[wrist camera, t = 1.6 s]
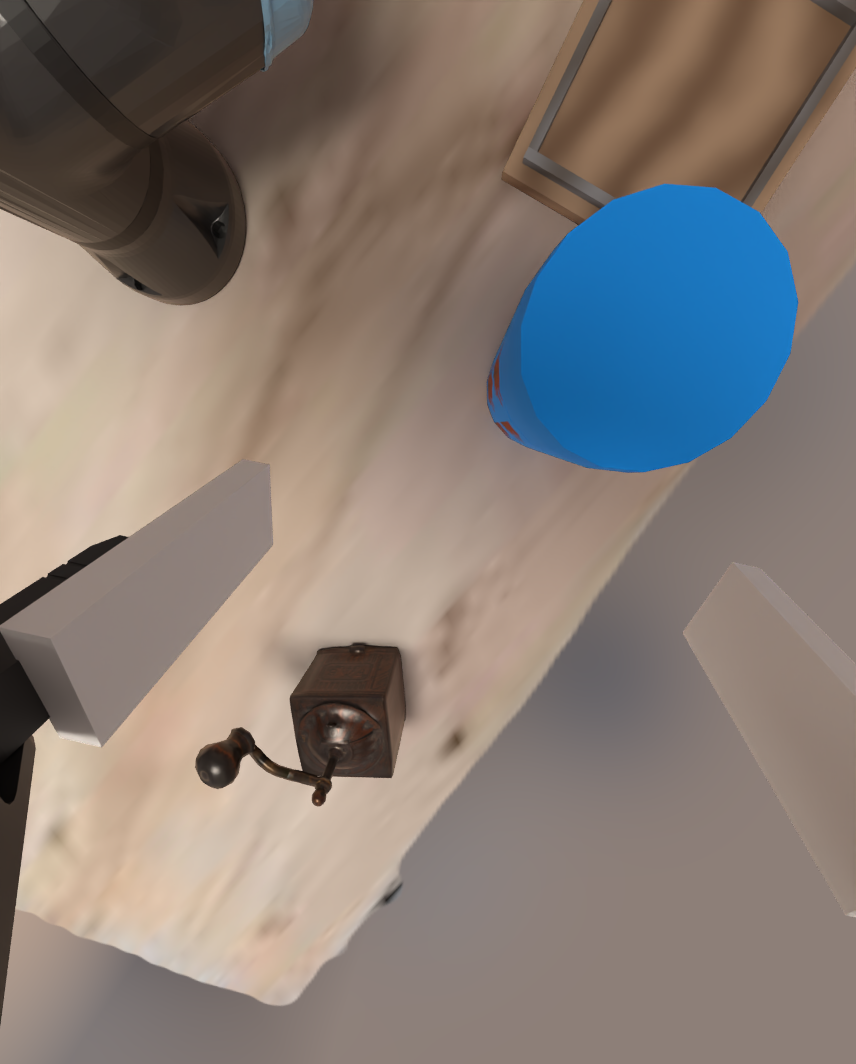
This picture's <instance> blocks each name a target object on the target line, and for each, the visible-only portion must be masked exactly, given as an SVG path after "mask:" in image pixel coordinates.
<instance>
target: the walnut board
mask: <svg viewBox="0 0 856 1064" xmlns="http://www.w3.org/2000/svg"><path fill="white" fill-rule="evenodd" d="M855 68H856V0H584V1H583V3H582V5H581V7H580V9H579V11H578V13H577V16H576V18H575V20H574V22H573V24H572V26H571V28H570V30H569V32H568V35H567V37H566V39H565V41H564V43H563V45H562V47H561V49H560V51H559V54H558V56H557V58H556V60H555V62H554V64H553V66H552V68H551V70H550V73H549V75H548V77H547V79H546V81H545V83H544V85H543V87H542V89H541V92H540V94H539V96H538V98H537V100H536V102H535V104H534V106H533V108H532V111H531V113H530V115H529V117H528V119H527V121H526V123H525V125H524V127H523V130H522V132H521V134H520V136H519V138H518V140H517V142H516V144H515V147H514V149H513V151H512V153H511V155H510V157H509V159H508V161H507V163H506V166H505V168H504V170H503V173H502V180H503V181H505V182H507V183H508V184H510V185H512V186H514V187H515V188H517V189H519V190H520V191H522V192H524V193H526V194H527V195H529V196H531V197H532V198H534V199H536V200H537V201H539V202H541V203H543V204H544V205H546V206H548V207H549V208H551V209H553V210H555V211H556V212H558V213H560V214H561V215H563V216H565V217H567V218H568V219H570V220H572V221H573V222H575V223H577V224H578V225H580V224H581V223H583V222H584V221H585V220H587V219H588V218H589V217H591V216H592V215H593V214H595V213H596V212H597V211H599V210H600V209H601V208H603V207H604V206H605V205H607V204H608V203H609V202H611V201H612V200H614V199H617V198H620V197H624V196H627V195H630V194H633V193H636V192H639V191H643V190H646V189H649V188H652V187H655V186H658V185H662V184H675V185H688V186H701V187H713V188H717V189H719V190H721V191H723V192H724V193H726V194H728V195H730V196H732V197H733V198H735V199H737V200H739V201H741V202H742V203H744V204H746V205H748V206H750V207H751V208H753V209H755V210H757V211H759V212H760V214H761V212H762V211H763V209H764V208H765V206H766V205H767V203H768V202H769V200H770V199H771V197H772V195H773V194H774V192H775V191H776V189H777V188H778V186H779V185H780V183H781V182H782V180H783V179H784V177H785V175H786V174H787V172H788V171H789V169H790V168H791V166H792V165H793V163H794V162H795V160H796V159H797V157H798V156H799V154H800V152H801V151H802V149H803V148H804V146H805V145H806V143H807V142H808V140H809V139H810V137H811V136H812V134H813V132H814V131H815V129H816V128H817V126H818V125H819V123H820V122H821V120H822V119H823V117H824V116H825V114H826V112H827V111H828V109H829V108H830V106H831V105H832V103H833V102H834V100H835V99H836V97H837V96H838V94H839V93H840V91H841V89H842V88H843V86H844V85H845V83H846V82H847V80H848V79H849V77H850V76H851V74H852V73H853V71H854V69H855Z"/></svg>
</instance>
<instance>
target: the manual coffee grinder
mask: <svg viewBox="0 0 856 1064" xmlns="http://www.w3.org/2000/svg"><path fill="white" fill-rule="evenodd" d="M290 706H291V713H292V718H293V724H294V731H295V738H296V743H297V748H298V753H299V758H300V762H301V766H302V770H303V771H299V770H294V769H290V768H287V767H284V766H280V765H278V764H276V763H275V762H273V761H271V760H270V759H269V758H268V757H267V756H266V755H265V754H264V753H263V752H262V751H261V750H260V749H259V748H258V747H257V746H256V745H255V741H254V739H253V737H252V735H251V734H250V732H248V731H247V730H245V729H244V728H242V727H240V728H235V729H232V731H231V734H230V735H229V737H228V738H227V740H224V741H221V742H218V743H213V744H209V745H206V746H205V747H204V748H202V749H201V750H200V752H199V754H198V756H197V758H196V766H195V768H196V770H197V772H198V775H199V777H200V779H201V780H202V781H203V783H205V784H206V785H208V786H210V787H212V788H216V789H219V788H223V787H225V786H227V785H229V784H231V783H232V782H233V781H234V780H235V778H236V777H237V775H238V773H239V768H240V762H241V759H242V758H243V757H245V756H246V755H248V754H250V756H251V757H252V758H253V759H254V760H255V762H256V763H257V764H258V765H259V766H260V767H261V768H263V769H264V770H265V771H266V772H268V773H270V774H272V775H274V776H277V777H280V778H283V779H286V780H290V781H294V782H298V783H302V784H306V785H310V786H313V787H315V789H316V790H315V792H314V793H313V794H312V803H313V804H314V805H315V806H321V805H323V804H324V802H325V800H326V794H327V793H328V792H329V791H330V790H331V788H332V782H331V778H332V776H337V777H374V778H392V776H393V773H394V768H395V764H396V759H397V755H398V750H399V746H400V741H401V736H402V731H403V726H404V721H405V695H404V684H403V673H402V663H401V655H400V653H399V650H398V648H394V647H374V646H364V645H355V646H350V647H337V648H329V649H324V650H319V651H317V655H316V657H315V658H314V660H313V662H312V663H311V665H310V666H309V668H308V670H307V671H306V673H305V674H304V676H303V677H302V679H301V680H300V682H299V684H298V685H297V687H296V688H295V690H294V691H293V693H292V694H291V696H290ZM318 776H319V777H318Z"/></svg>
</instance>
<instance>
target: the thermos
mask: <svg viewBox="0 0 856 1064" xmlns="http://www.w3.org/2000/svg"><path fill="white" fill-rule="evenodd" d="M797 307H798V298H797V293H796V289H795V284H794V279H793V275H792V270H791V265H790V260H789V256H788V252H787V250H786V249H785V247H784V246H783V245H782V243H781V242H780V240H779V239H778V238H777V236H776V235H775V233H774V232H773V231H772V229H771V228H770V226H769V225H768V224H767V222H766V221H765V219H764V218H763V217H762V215H761V214H760V212H759V211H757V210H755V209H753V208H751V207H750V206H748V205H746V204H744V203H742V202H741V201H739V200H737V199H735V198H733V197H732V196H730V195H728V194H726V193H724V192H723V191H721V190H719V189H717V188H713V187H701V186H688V185H675V184H662V185H658V186H655V187H652V188H649V189H646V190H643V191H639V192H636V193H633V194H630V195H627V196H624V197H620V198H617V199H614V200H612V201H611V202H609V203H608V204H607V205H605V206H604V207H603V208H601V209H600V210H599V211H597V212H596V213H595V214H593V215H592V216H591V217H589V218H588V219H587V220H585V221H584V222H583V223H581V224H580V225H579V226H577V227H576V228H575V229H573V230H572V231H571V232H569V233H568V234H567V235H566V236H565V237H564V239H563V240H562V241H561V242H560V243H559V244H558V245H557V246H556V247H555V249H554V250H553V251H552V253H551V254H550V256H549V257H548V258H547V260H546V261H545V263H544V264H543V265H542V267H541V268H540V270H539V271H538V273H537V274H536V275H535V277H534V278H533V280H532V281H531V282H530V284H529V285H528V287H527V288H526V289H525V292H524V294H523V296H522V298H521V301H520V303H519V305H518V307H517V309H516V312H515V314H514V316H513V318H512V321H511V323H510V325H509V327H508V329H507V332H506V334H505V336H504V338H503V341H502V343H501V345H500V347H499V349H498V352H497V354H496V356H495V358H494V361H493V364H492V367H491V370H490V374H489V377H488V380H487V405H488V407H489V410H490V413H491V415H492V418H493V420H494V422H495V423H496V425H497V426H498V427H499V428H500V429H501V430H502V431H503V432H504V434H505V435H506V436H507V437H508V438H510V439H512V440H514V441H516V442H518V443H520V444H521V445H523V446H525V447H528V448H531V449H534V450H537V451H540V452H542V453H545V454H548V455H551V456H554V457H557V458H560V459H563V460H566V461H569V462H572V463H574V464H577V465H580V466H583V467H586V468H593V469H601V470H610V471H618V472H627V473H630V472H647V471H651V470H656V469H661V468H665V467H670V466H674V465H679V464H683V463H688V462H690V461H692V460H694V459H695V458H697V457H699V456H701V455H702V454H704V453H706V452H708V451H709V450H711V449H713V448H714V447H716V446H718V445H720V444H722V443H723V442H725V441H727V440H729V439H730V438H732V436H733V435H734V434H735V433H736V432H737V431H738V430H739V429H740V428H741V427H742V426H743V425H744V424H745V423H746V422H747V421H748V420H749V419H750V418H751V416H752V415H753V414H754V413H755V412H756V411H757V410H758V409H759V408H760V407H761V406H762V405H763V404H764V403H765V402H766V401H767V399H768V397H769V395H770V393H771V391H772V389H773V387H774V385H775V383H776V381H777V379H778V377H779V375H780V373H781V371H782V369H783V367H784V365H785V363H786V361H787V359H788V357H789V355H790V352H791V346H792V339H793V333H794V326H795V320H796V313H797Z"/></svg>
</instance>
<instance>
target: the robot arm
mask: <svg viewBox="0 0 856 1064" xmlns="http://www.w3.org/2000/svg"><path fill="white" fill-rule="evenodd" d="M312 10H313V0H0V209H2V210H4V211H6V212H8V213H11V214H13V215H15V216H17V217H20V218H22V219H24V220H26V221H29V222H31V223H33V224H35V225H38V226H40V227H42V228H44V229H46V230H49V231H51V232H53V233H55V234H58V235H60V236H62V237H65V238H67V239H69V240H71V241H73V242H75V243H77V244H79V245H80V246H81V247H82V248H83V249H85V250H86V251H87V252H88V253H89V254H90V255H91V256H92V257H93V258H94V259H96V260H97V261H98V262H99V263H100V264H101V265H102V266H103V267H104V268H105V269H107V270H108V271H109V272H110V273H111V274H112V275H113V276H114V277H116V278H117V279H118V280H119V281H120V282H122V283H123V284H125V285H126V286H128V287H129V288H131V289H133V290H134V291H136V292H138V293H140V294H142V295H145V296H147V297H150V298H152V299H155V300H157V301H160V302H163V303H167V304H172V305H190V304H195V303H199V302H201V301H204V300H206V299H208V298H210V297H212V296H213V295H215V294H216V293H217V292H218V291H220V290H221V289H222V288H223V287H224V286H225V285H226V283H227V282H228V281H229V280H230V278H231V277H232V275H233V274H234V272H235V270H236V268H237V266H238V264H239V261H240V258H241V255H242V251H243V247H244V242H245V231H246V221H245V210H244V204H243V200H242V196H241V192H240V189H239V186H238V184H237V181H236V179H235V177H234V174H233V173H232V171H231V169H230V167H229V165H228V164H227V162H226V161H225V159H224V158H223V157H222V155H221V154H220V153H219V152H218V150H217V149H216V148H215V147H214V146H213V145H212V144H211V143H210V142H209V140H208V139H207V138H206V137H205V136H204V135H203V134H202V133H201V132H200V131H199V130H198V129H197V128H196V127H195V126H194V125H192V124H191V123H190V122H188V121H187V119H189V118H190V117H192V116H193V115H195V114H196V113H198V112H199V111H200V110H202V109H203V108H205V107H206V106H208V105H209V104H211V103H212V102H214V101H215V100H217V99H218V98H219V97H221V96H222V95H224V94H225V93H227V92H228V91H230V90H231V89H233V88H234V87H236V86H237V85H238V84H240V83H241V82H243V81H244V80H246V79H247V78H249V77H250V76H252V75H253V74H255V73H256V72H257V71H259V70H260V71H262V72H264V71H267V70H268V67H269V66H271V64H272V61H273V59H274V58H275V57H276V56H277V55H279V54H280V53H281V52H282V51H284V50H285V49H286V48H287V47H289V46H290V45H291V44H292V43H294V42H295V41H296V40H297V39H299V38H300V37H301V36H302V35H303V34H304V33H305V31H306V29H307V27H308V25H309V22H310V17H311V14H312ZM272 545H273V532H272V509H271V487H270V465H269V464H264V463H260V462H255V461H250V460H245V459H242V460H241V461H240V462H238V463H237V464H235V465H234V466H232V467H231V468H229V469H228V470H226V471H225V472H223V473H222V474H221V475H219V476H218V477H216V478H215V479H213V480H212V481H210V482H209V483H207V484H206V485H204V486H203V487H202V488H200V489H199V490H197V491H196V492H194V493H193V494H191V495H190V496H188V497H187V498H185V499H184V500H183V501H181V502H180V503H178V504H177V505H175V506H174V507H172V508H171V509H169V510H168V511H166V512H165V513H164V514H162V515H161V516H159V517H158V518H156V519H155V520H153V521H152V522H150V523H149V524H147V525H146V526H145V527H143V528H142V529H140V530H139V531H137V532H136V533H134V534H133V535H131V536H130V537H126V536H121V535H119V536H117V537H114V538H111V539H109V540H106V541H103V542H101V543H98V544H95V545H92V546H90V547H89V548H87V549H86V550H84V551H83V552H81V553H79V554H78V555H76V556H75V557H73V558H72V559H70V560H69V561H68V563H67V564H66V565H65V564H62V565H61V566H59V567H58V568H56V569H54V570H53V571H51V572H50V573H48V576H47V577H46V578H45V577H42V578H40V579H39V580H37V581H36V582H34V583H33V584H31V585H30V586H28V587H26V588H25V589H23V590H22V591H20V592H19V593H17V594H15V595H14V596H12V597H11V598H9V599H8V600H6V601H5V602H3V603H1V604H0V1024H1V1016H2V1008H3V1000H4V992H5V984H6V976H7V968H8V960H9V953H10V945H11V937H12V929H13V922H14V914H15V906H16V898H17V890H18V883H19V875H20V867H21V859H22V851H23V843H24V835H25V828H26V820H27V812H28V804H29V796H30V788H31V781H32V773H33V765H34V757H35V749H36V748H35V742H34V737H33V736H32V734H33V733H34V732H35V731H36V730H37V729H38V728H39V727H41V726H42V725H43V724H44V723H45V722H46V721H47V720H48V719H50V721H51V723H52V725H53V726H54V728H55V730H56V732H57V734H58V735H59V737H60V738H62V739H67V740H71V741H76V742H80V743H85V744H89V745H93V746H98V747H103V745H104V744H105V743H106V742H107V741H108V739H109V738H110V737H111V736H112V735H113V734H114V732H115V731H116V730H117V729H118V728H119V726H120V725H121V724H122V723H123V722H124V721H125V719H126V718H127V717H128V716H129V715H130V713H131V712H132V711H133V710H134V709H135V708H136V706H137V705H138V704H139V703H140V702H141V700H142V699H143V698H144V697H145V696H146V695H147V693H148V692H149V691H150V690H151V689H152V687H153V686H154V685H155V684H156V683H157V681H158V680H159V679H160V678H161V677H162V676H163V674H164V673H165V672H166V671H167V670H168V668H169V667H170V666H171V665H172V664H173V663H174V661H175V660H176V659H177V658H178V657H179V655H180V654H181V653H182V652H183V651H184V650H185V648H186V647H187V646H188V645H189V644H190V642H191V641H192V640H193V639H194V638H195V637H196V635H197V634H198V633H199V632H200V631H201V629H202V628H203V627H204V626H205V625H206V624H207V622H208V621H209V620H210V619H211V618H212V616H213V615H214V614H215V613H216V612H217V611H218V609H219V608H220V607H221V606H222V605H223V603H224V602H225V601H226V600H227V599H228V598H229V596H230V595H231V594H232V593H233V592H234V590H235V589H236V588H237V587H238V586H239V585H240V583H241V582H242V581H243V580H244V579H245V577H246V576H247V575H248V574H249V573H250V571H251V570H252V569H253V568H254V567H255V566H256V564H257V563H258V562H259V561H260V560H261V558H262V557H263V556H264V555H265V554H266V553H267V551H268V550H269V549H270V548H271V547H272ZM682 633H683V635H684V636H685V638H686V640H687V641H688V643H689V645H690V647H691V648H692V650H693V652H694V654H695V655H696V657H697V659H698V660H699V662H700V664H701V666H702V668H703V669H704V671H705V673H706V674H707V676H708V678H709V680H710V681H711V683H712V685H713V687H714V688H715V690H716V692H717V693H718V695H719V697H720V699H721V700H722V702H723V704H724V706H725V707H726V709H727V711H728V712H729V714H730V716H731V718H732V719H733V721H734V723H735V724H736V726H737V728H738V730H739V732H740V733H741V735H742V737H743V739H744V740H745V742H746V744H747V745H748V747H749V749H750V751H751V752H752V754H753V756H754V757H755V759H756V761H757V763H758V764H759V766H760V768H761V770H762V771H763V773H764V775H765V777H766V778H767V780H768V782H769V784H770V785H771V787H772V789H773V790H774V792H775V794H776V796H777V797H778V799H779V801H780V803H781V804H782V806H783V808H784V810H785V811H786V813H787V815H788V817H789V818H790V820H791V822H792V823H793V825H794V827H795V829H796V830H797V832H798V834H799V836H800V837H801V839H802V841H803V842H804V844H805V846H806V848H807V849H808V851H809V853H810V855H811V856H812V858H813V860H814V861H815V863H816V865H817V867H818V869H819V870H820V872H821V874H822V875H823V877H824V879H825V881H826V882H827V884H828V886H829V888H830V889H831V891H832V893H833V894H834V896H835V898H836V900H837V901H838V903H839V905H840V906H841V908H842V910H843V912H844V913H845V915H847V916H852V917H856V664H855V663H854V662H853V661H852V660H851V659H850V658H849V657H848V656H847V655H846V654H845V653H844V652H843V651H842V650H841V649H840V648H839V647H838V646H837V645H836V644H835V643H834V642H833V641H832V640H831V639H830V638H829V637H828V636H827V635H826V634H825V633H824V632H823V631H822V630H821V629H820V628H819V627H818V625H816V624H815V623H814V621H812V620H811V618H810V617H808V615H807V614H805V612H803V610H802V609H801V608H799V606H797V605H796V603H795V602H793V600H792V599H791V598H790V597H789V596H788V595H787V594H786V593H784V591H783V590H782V589H781V588H780V587H779V586H778V585H777V584H776V583H775V582H774V581H773V580H772V579H771V578H770V577H769V576H768V575H767V574H766V573H765V572H764V571H763V570H762V569H761V568H759V567H753V566H749V565H744V564H740V563H735V562H732V563H731V565H730V566H729V567H728V569H727V570H726V572H725V573H724V574H723V576H722V577H721V579H720V580H719V581H718V583H717V584H716V586H715V587H714V588H713V590H712V591H711V593H710V594H709V595H708V597H707V598H706V600H705V601H704V603H703V604H702V605H701V607H700V608H699V610H698V611H697V613H696V614H695V615H694V617H693V618H692V619H691V621H690V622H689V624H688V625H687V626H686V628H685V629H684V631H683V632H682Z"/></svg>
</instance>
